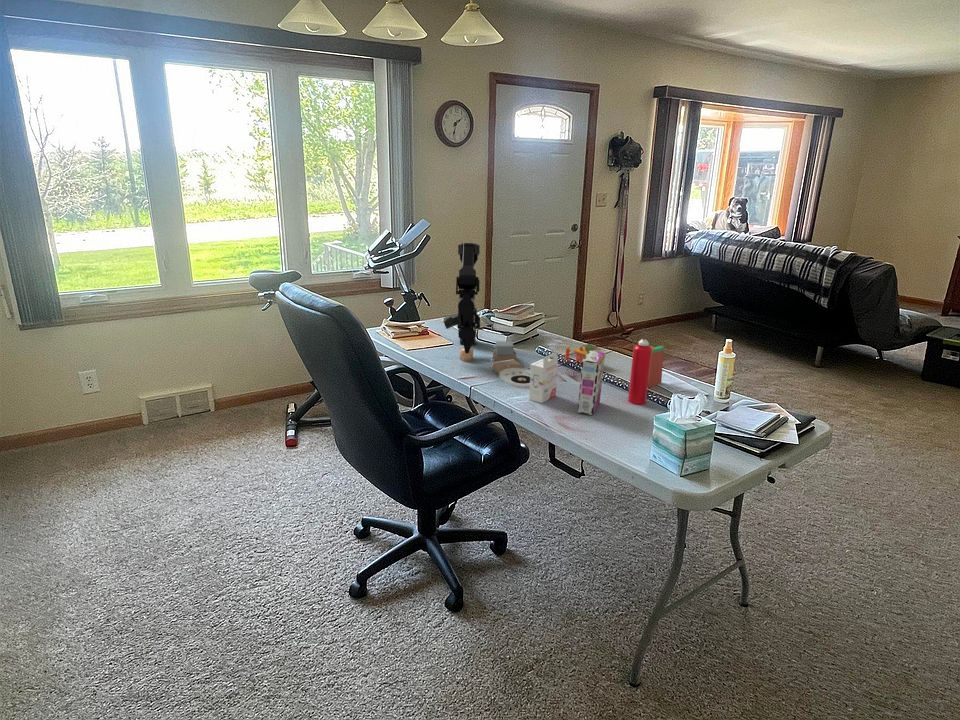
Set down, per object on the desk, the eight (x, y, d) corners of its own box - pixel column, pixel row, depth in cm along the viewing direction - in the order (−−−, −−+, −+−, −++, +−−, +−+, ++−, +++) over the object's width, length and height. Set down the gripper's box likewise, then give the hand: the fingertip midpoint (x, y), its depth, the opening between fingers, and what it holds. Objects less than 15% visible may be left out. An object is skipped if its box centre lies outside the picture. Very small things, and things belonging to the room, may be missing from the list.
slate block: (495, 350, 214) (495, 341, 213) (511, 350, 214) (511, 341, 213) (496, 355, 208) (497, 346, 207) (513, 355, 208) (513, 346, 207)
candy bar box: (594, 416, 167) (598, 363, 161) (577, 413, 168) (581, 360, 163) (601, 402, 177) (605, 351, 171) (584, 399, 178) (589, 349, 173)
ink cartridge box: (542, 391, 184) (545, 347, 179) (556, 395, 181) (559, 351, 177) (528, 399, 178) (530, 354, 173) (542, 403, 175) (544, 358, 170)
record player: (517, 358, 206) (547, 377, 190) (517, 366, 208) (546, 385, 191) (488, 362, 202) (516, 382, 185) (488, 371, 203) (516, 391, 186)
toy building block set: (637, 391, 186) (642, 350, 182) (560, 362, 212) (562, 325, 208) (661, 383, 193) (666, 343, 189) (583, 356, 219) (586, 320, 215)
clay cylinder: (459, 357, 216) (459, 346, 214) (473, 357, 216) (473, 347, 215) (459, 361, 211) (459, 350, 210) (473, 361, 211) (473, 351, 210)
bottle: (643, 398, 181) (650, 336, 174) (648, 404, 175) (655, 342, 169) (626, 397, 181) (632, 336, 174) (630, 404, 175) (637, 341, 169)
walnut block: (492, 358, 216) (493, 349, 215) (514, 358, 216) (514, 349, 215) (494, 365, 208) (494, 356, 207) (516, 365, 209) (516, 356, 208)
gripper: (444, 301, 216) (445, 341, 221) (444, 314, 198) (444, 357, 203) (474, 302, 216) (474, 341, 221) (476, 314, 199) (475, 357, 204)
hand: (466, 349), depth 212 cm, fingers open, 9 cm apart
